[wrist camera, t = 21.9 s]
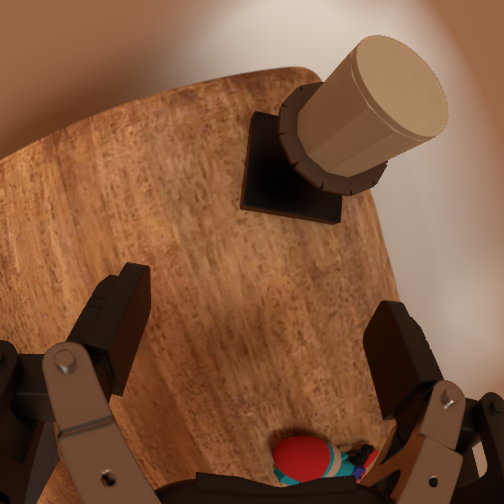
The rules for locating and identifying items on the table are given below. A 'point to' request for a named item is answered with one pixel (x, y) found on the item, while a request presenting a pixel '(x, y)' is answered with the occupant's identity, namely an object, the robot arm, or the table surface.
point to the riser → (42, 464)
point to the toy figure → (317, 460)
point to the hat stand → (281, 179)
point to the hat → (362, 116)
